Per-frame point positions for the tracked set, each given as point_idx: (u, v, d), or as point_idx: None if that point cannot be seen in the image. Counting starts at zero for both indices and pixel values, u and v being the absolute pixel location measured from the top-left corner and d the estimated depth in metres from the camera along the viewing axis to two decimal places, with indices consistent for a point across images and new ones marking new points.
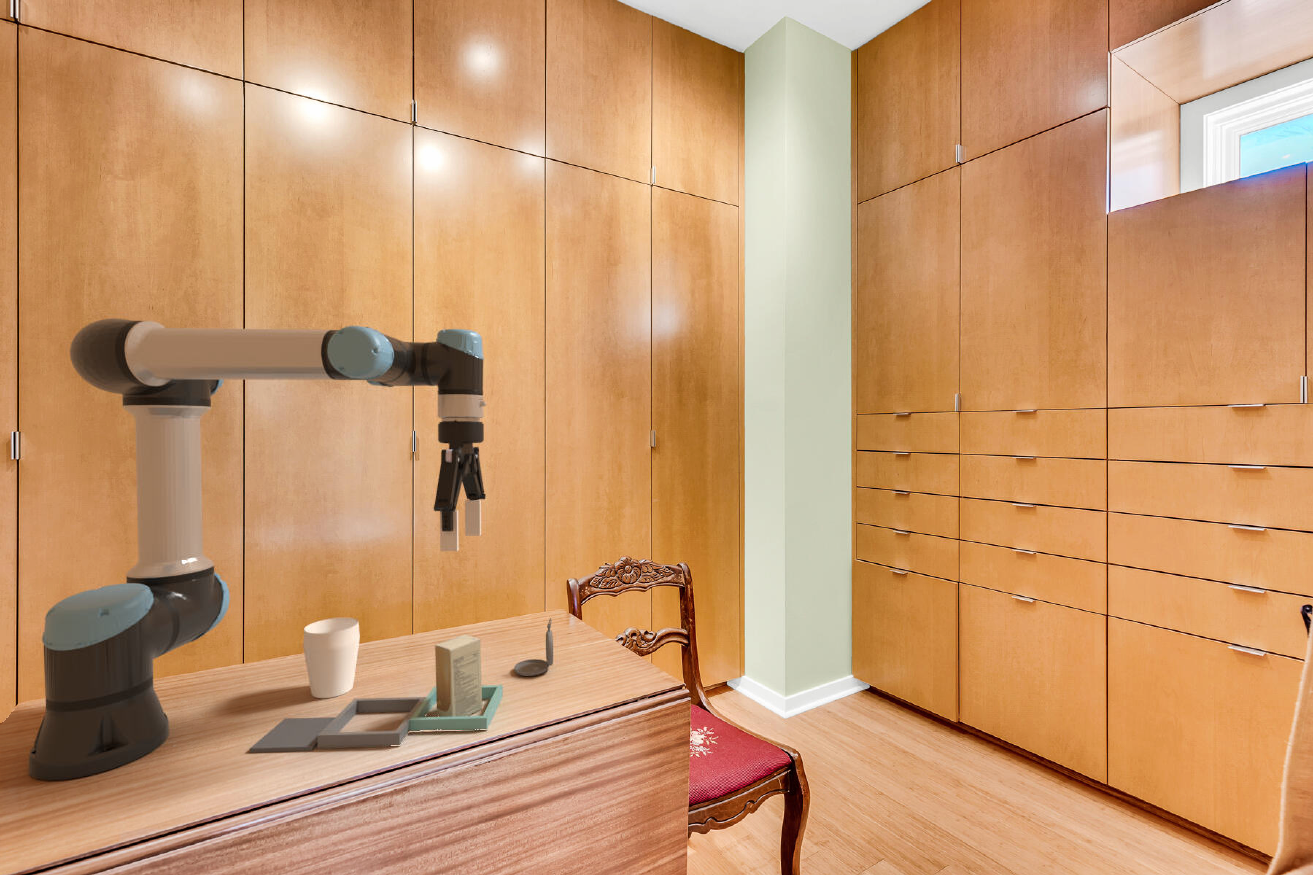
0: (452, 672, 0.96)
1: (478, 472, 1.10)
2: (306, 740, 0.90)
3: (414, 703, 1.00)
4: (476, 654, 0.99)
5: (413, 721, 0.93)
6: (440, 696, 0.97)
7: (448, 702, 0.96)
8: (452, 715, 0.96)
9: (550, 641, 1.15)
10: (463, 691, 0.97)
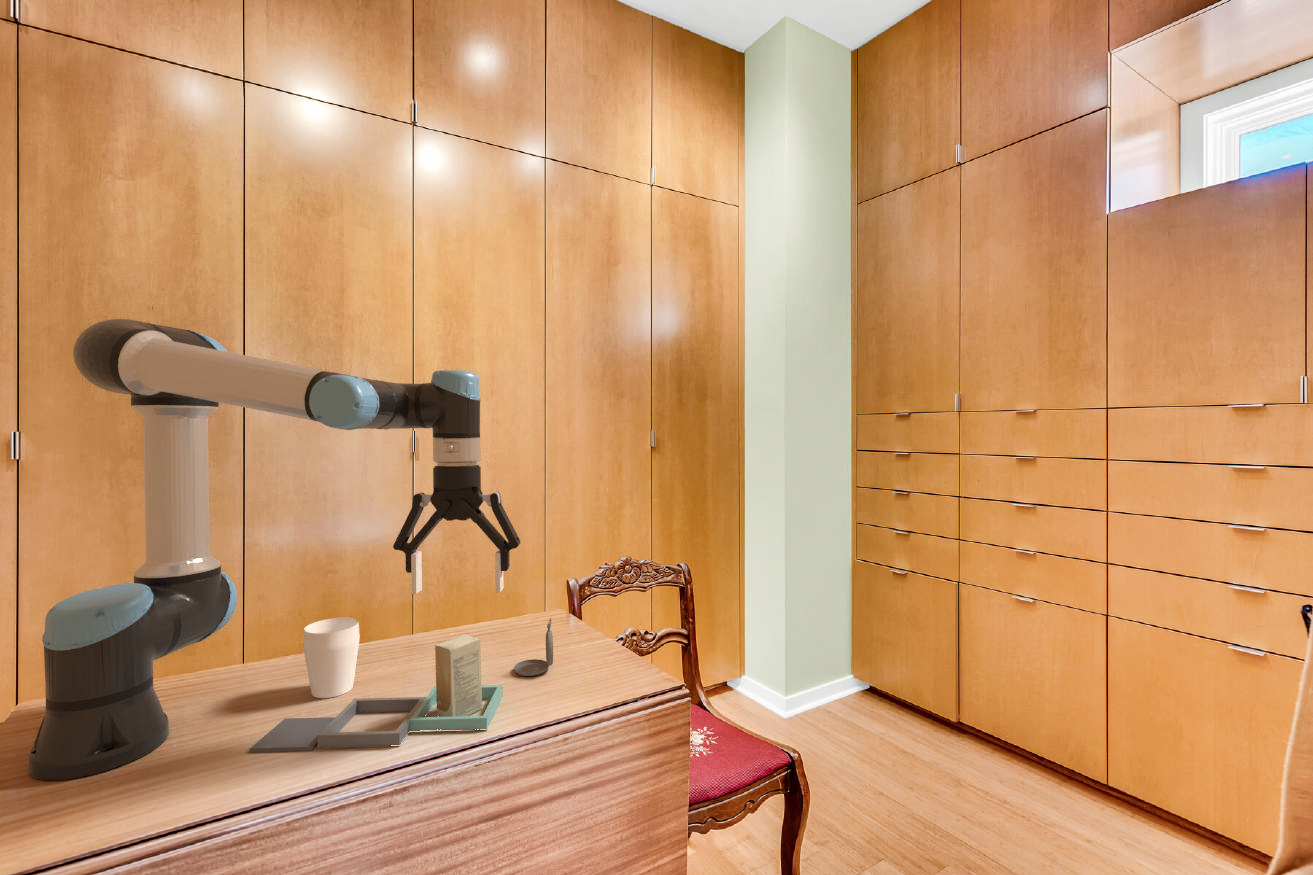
0: (452, 672, 0.96)
1: (498, 521, 0.98)
2: (306, 740, 0.90)
3: (414, 703, 1.00)
4: (476, 654, 0.99)
5: (413, 721, 0.93)
6: (440, 696, 0.97)
7: (448, 702, 0.96)
8: (452, 715, 0.96)
9: (550, 641, 1.15)
10: (463, 691, 0.97)
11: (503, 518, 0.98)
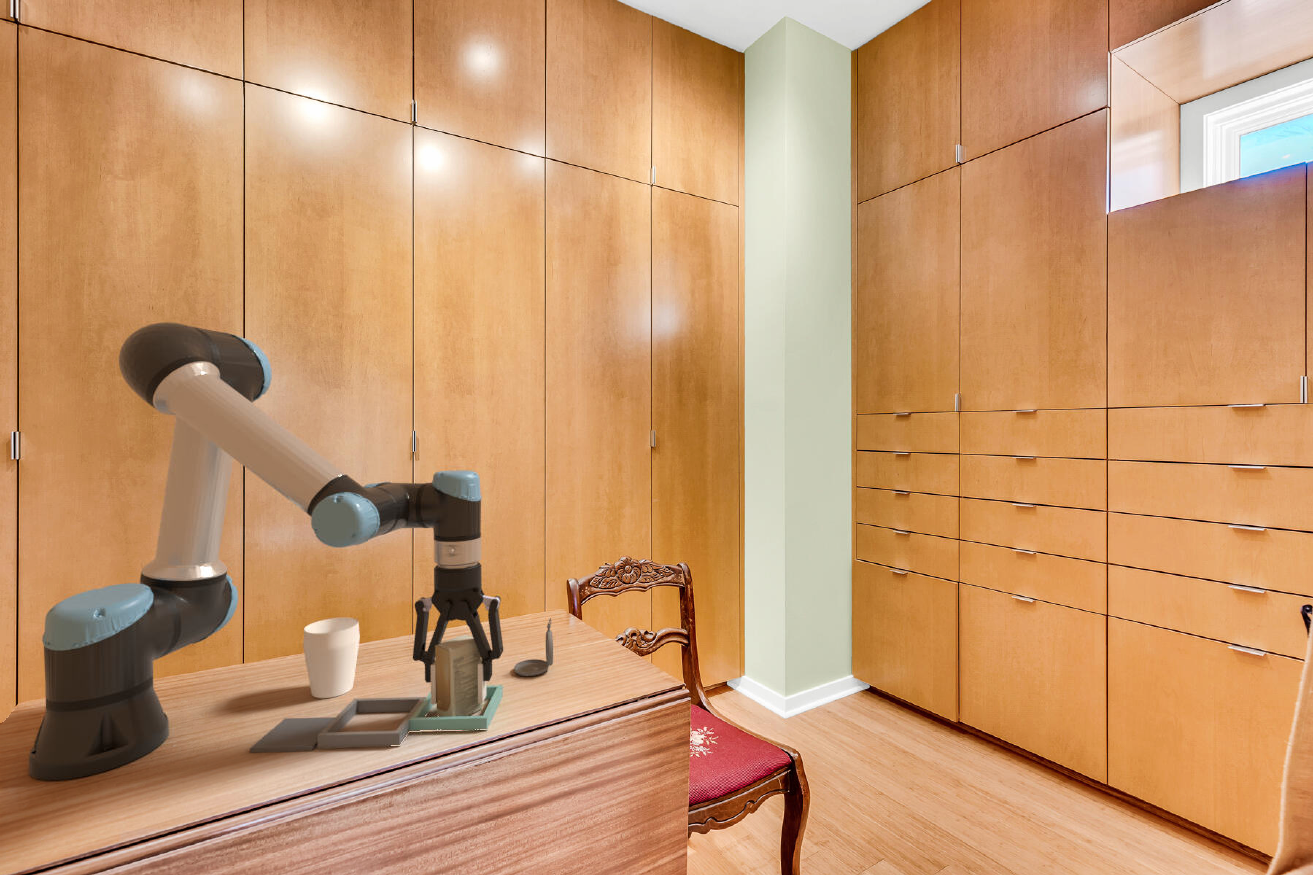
0: (452, 672, 0.96)
1: (490, 628, 0.98)
2: (306, 740, 0.90)
3: (414, 703, 1.00)
4: (476, 654, 0.99)
5: (413, 721, 0.93)
6: (440, 696, 0.97)
7: (448, 702, 0.96)
8: (452, 715, 0.96)
9: (550, 641, 1.15)
10: (463, 691, 0.97)
11: (495, 626, 0.98)
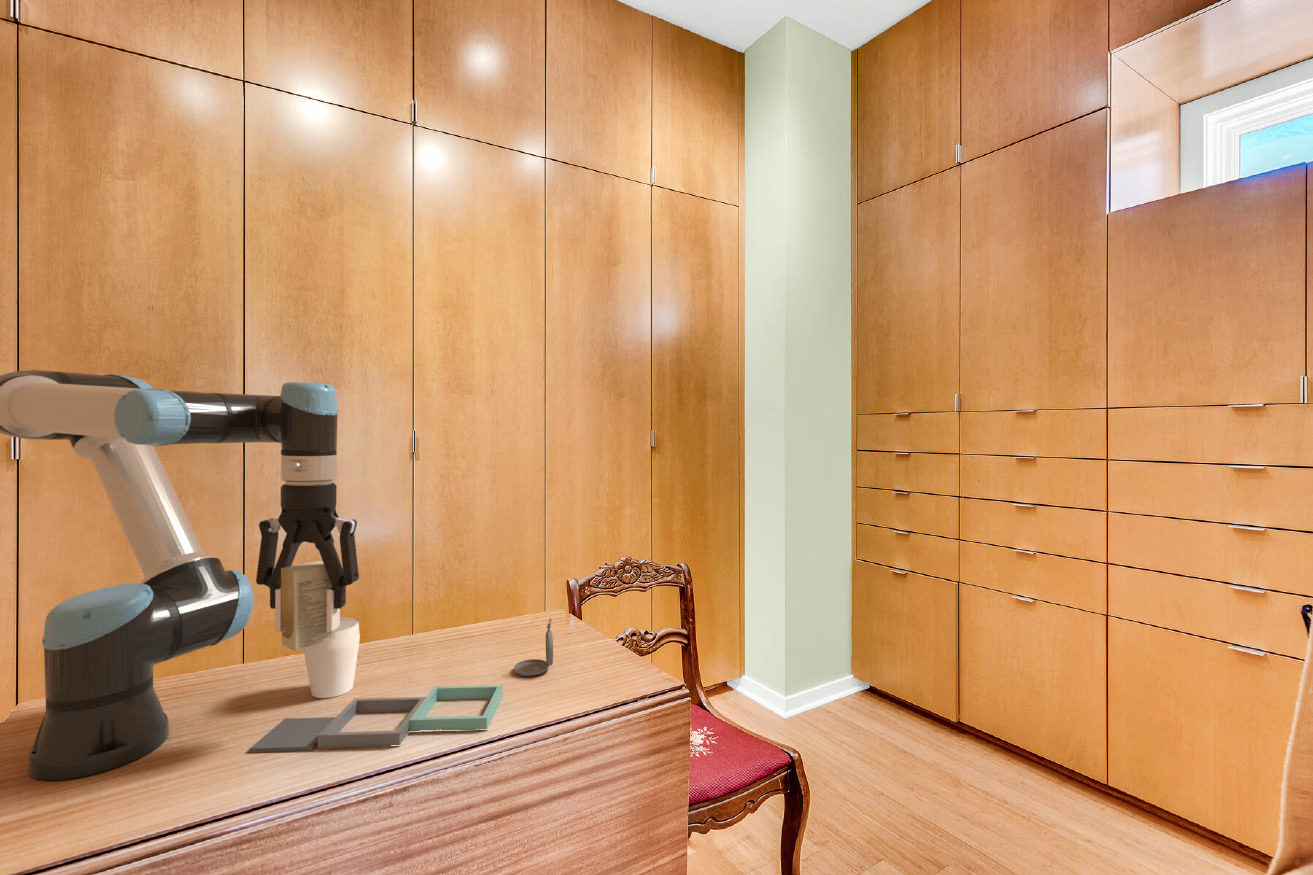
0: (296, 596, 0.89)
1: None
2: (306, 740, 0.90)
3: (414, 703, 1.00)
4: (328, 580, 0.93)
5: (413, 721, 0.93)
6: (284, 622, 0.91)
7: (291, 628, 0.89)
8: (295, 642, 0.89)
9: (550, 641, 1.15)
10: (310, 618, 0.91)
11: (347, 550, 0.92)
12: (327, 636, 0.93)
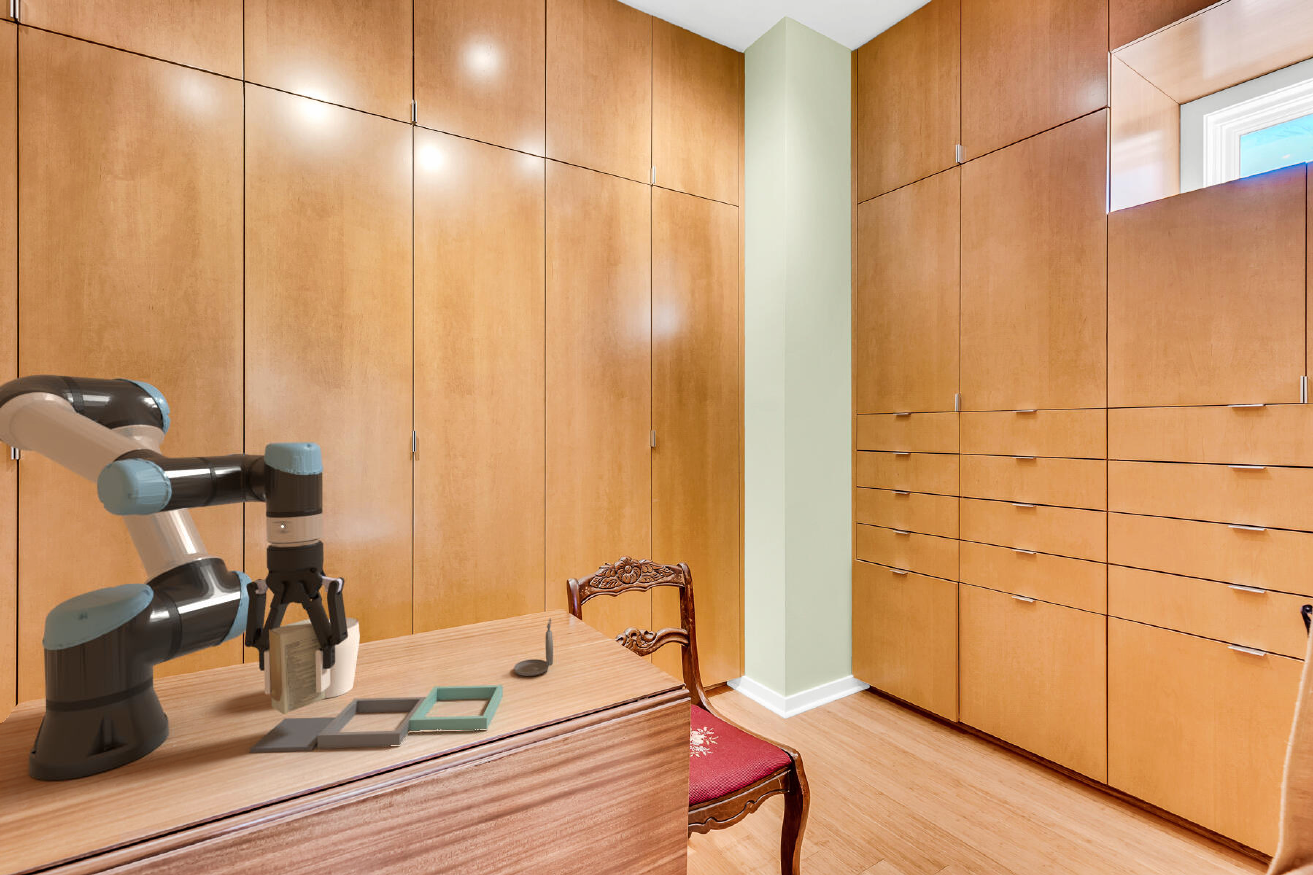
0: (283, 659, 0.88)
1: None
2: (306, 740, 0.90)
3: (414, 703, 1.00)
4: (316, 639, 0.92)
5: (413, 721, 0.93)
6: (274, 685, 0.90)
7: (280, 691, 0.89)
8: (284, 705, 0.88)
9: (550, 641, 1.15)
10: (299, 679, 0.90)
11: (335, 610, 0.91)
12: (317, 696, 0.92)
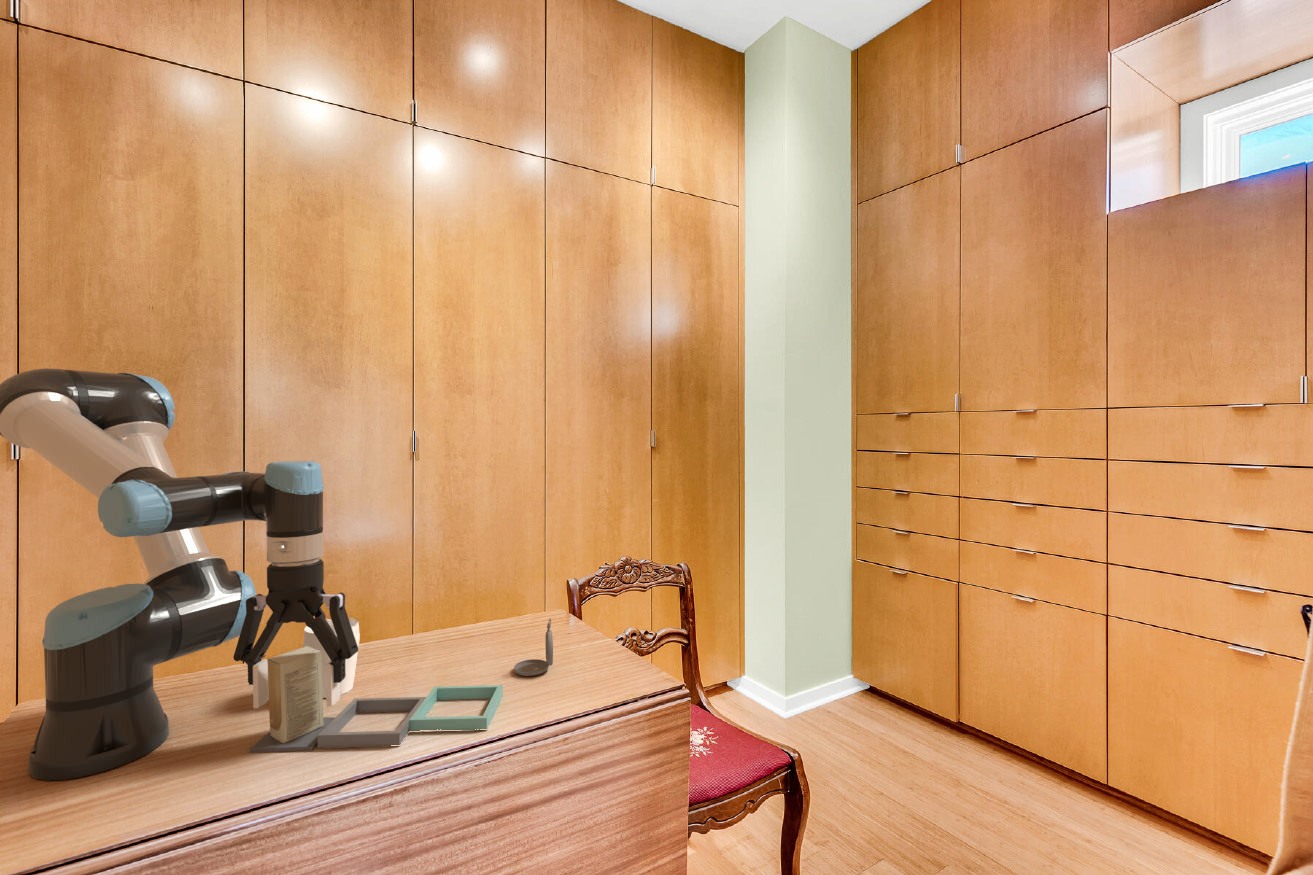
0: (283, 688, 0.89)
1: (335, 627, 0.91)
2: (306, 740, 0.90)
3: (414, 703, 1.00)
4: (315, 667, 0.92)
5: (413, 721, 0.93)
6: (272, 714, 0.90)
7: (279, 720, 0.89)
8: (284, 734, 0.89)
9: (550, 641, 1.15)
10: (298, 708, 0.90)
11: (340, 625, 0.91)
12: (316, 724, 0.93)
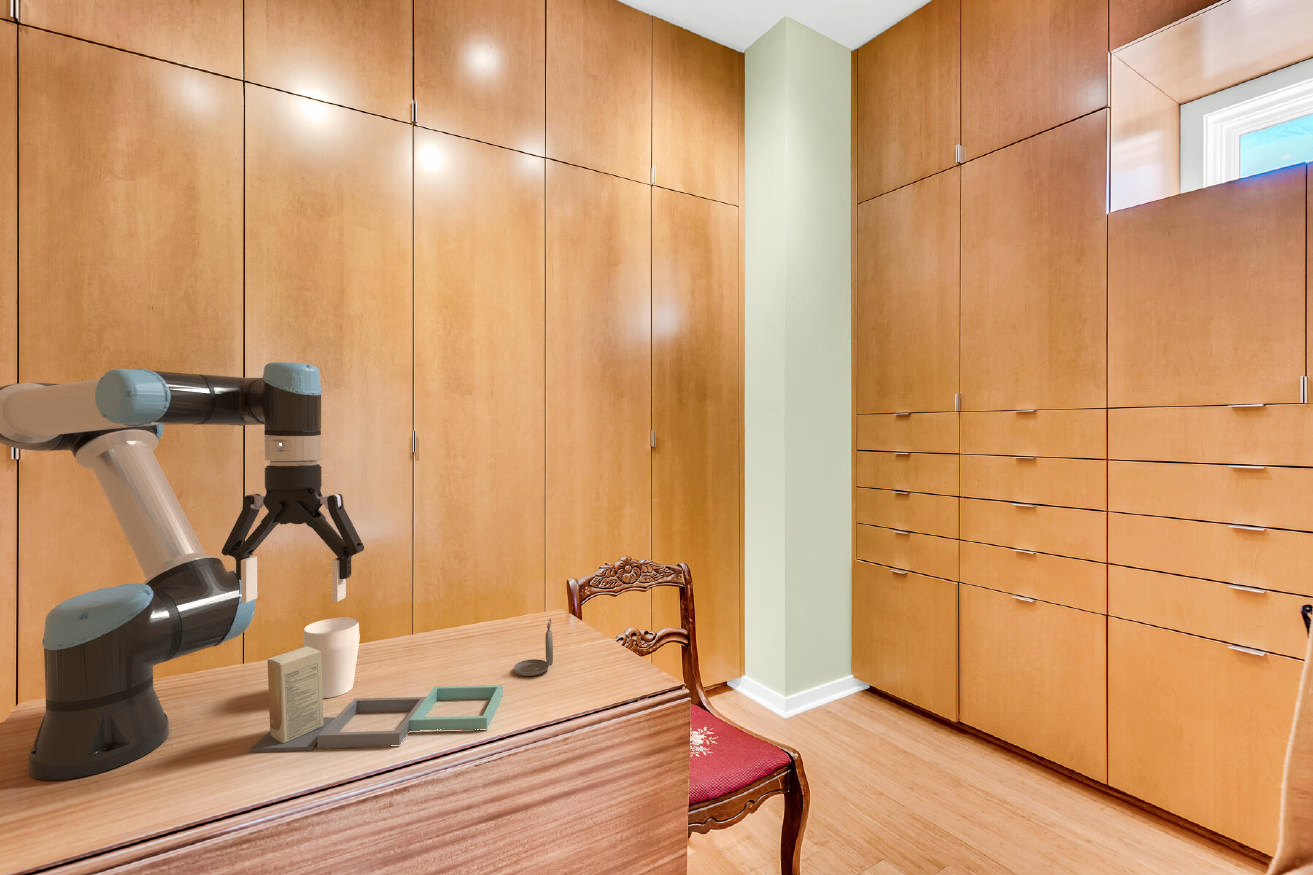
0: (283, 688, 0.89)
1: (336, 526, 0.91)
2: (306, 740, 0.90)
3: (414, 703, 1.00)
4: (315, 667, 0.92)
5: (413, 721, 0.93)
6: (272, 714, 0.90)
7: (279, 720, 0.89)
8: (284, 734, 0.89)
9: (550, 641, 1.15)
10: (298, 708, 0.90)
11: (341, 522, 0.91)
12: (316, 724, 0.93)
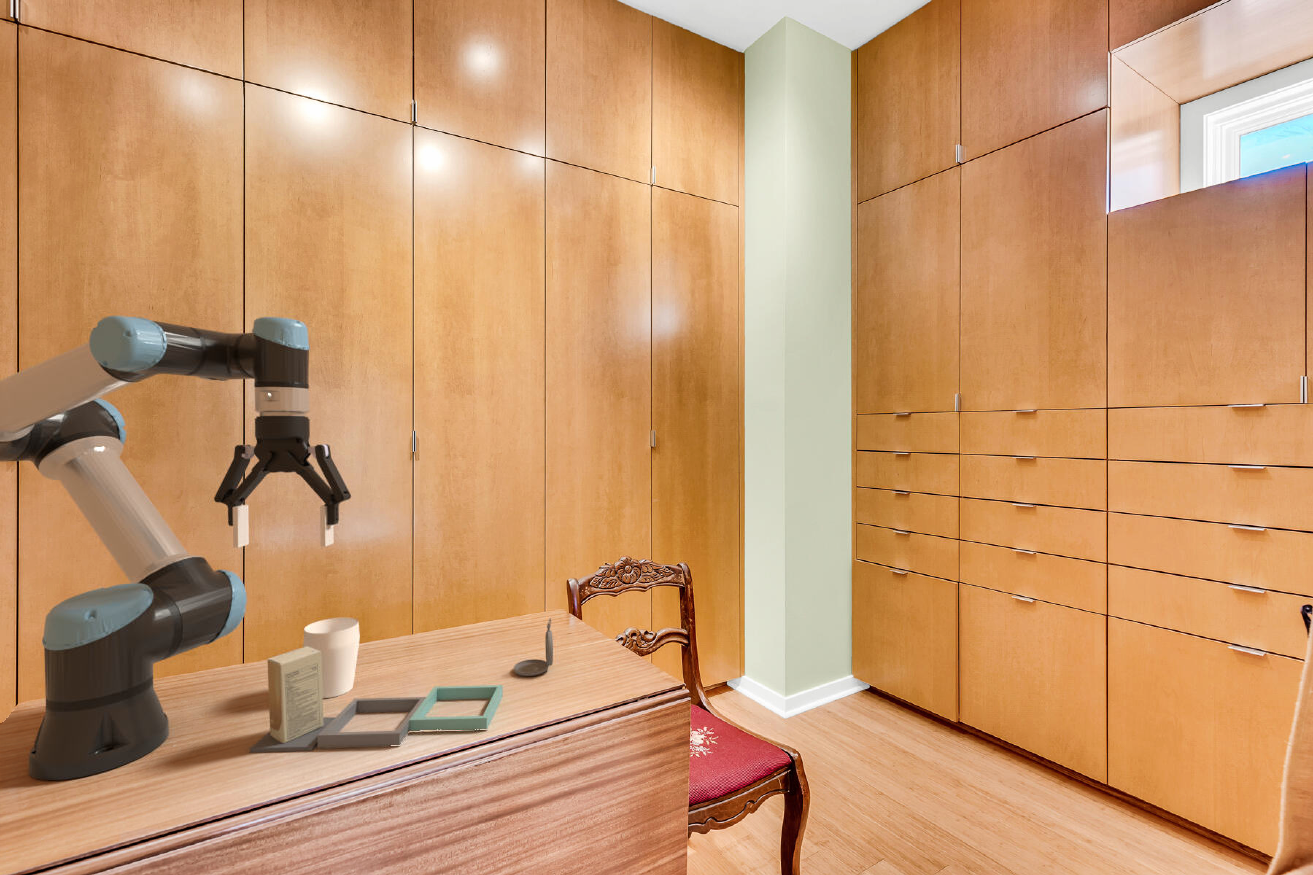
0: (283, 688, 0.89)
1: (324, 474, 0.96)
2: (306, 740, 0.90)
3: (414, 703, 1.00)
4: (315, 667, 0.92)
5: (413, 721, 0.93)
6: (272, 714, 0.90)
7: (279, 720, 0.89)
8: (284, 734, 0.89)
9: (550, 641, 1.15)
10: (298, 708, 0.90)
11: (329, 470, 0.95)
12: (316, 724, 0.93)
